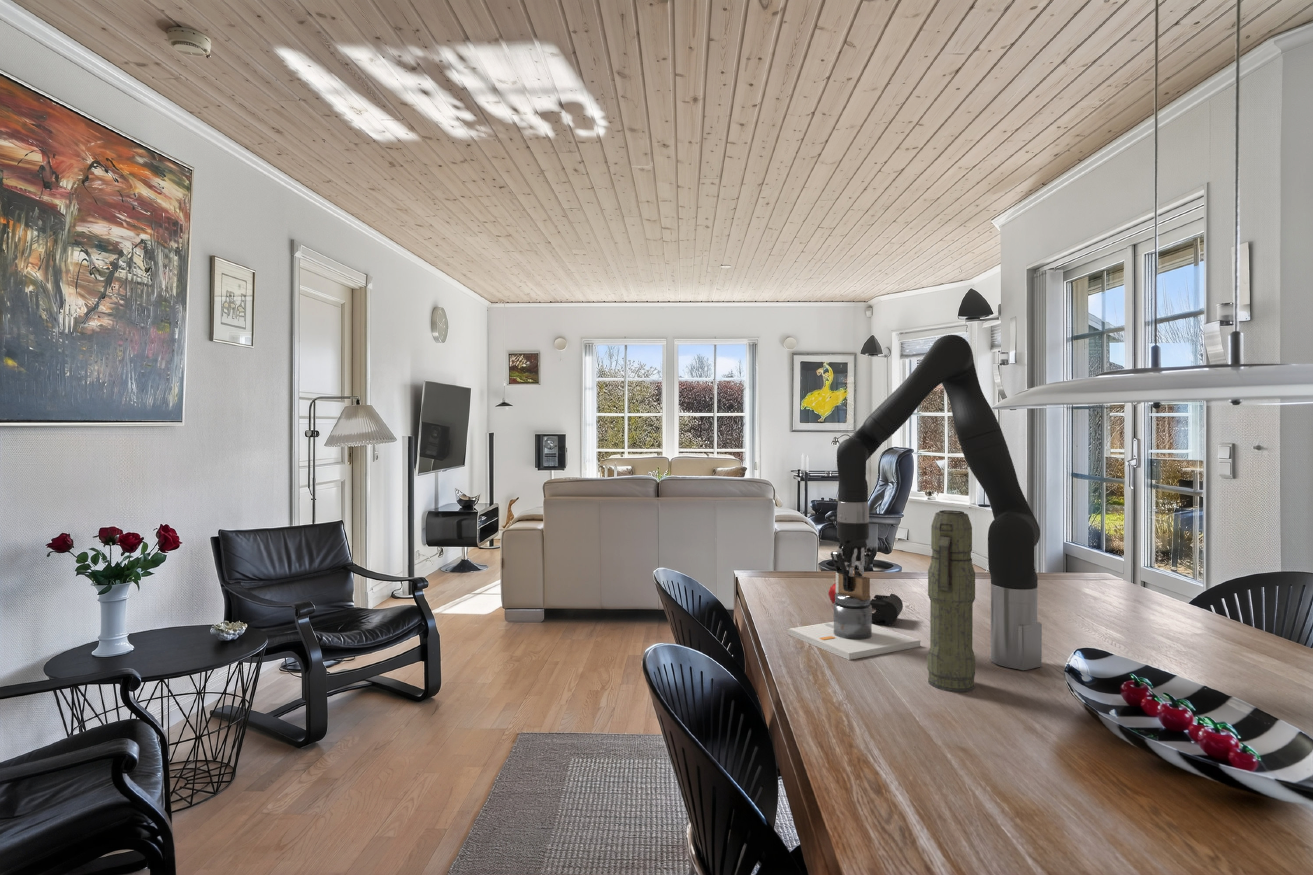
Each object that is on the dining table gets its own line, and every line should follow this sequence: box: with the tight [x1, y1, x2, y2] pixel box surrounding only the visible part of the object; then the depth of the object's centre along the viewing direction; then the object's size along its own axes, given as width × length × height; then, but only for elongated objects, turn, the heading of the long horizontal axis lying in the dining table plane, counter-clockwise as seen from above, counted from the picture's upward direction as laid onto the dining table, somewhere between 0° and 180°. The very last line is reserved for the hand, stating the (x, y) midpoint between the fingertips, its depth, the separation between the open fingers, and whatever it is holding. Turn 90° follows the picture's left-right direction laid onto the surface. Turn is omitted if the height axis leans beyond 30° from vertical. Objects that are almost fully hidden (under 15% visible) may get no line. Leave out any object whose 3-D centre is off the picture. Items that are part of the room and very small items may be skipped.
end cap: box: [871, 593, 904, 627], centre depth 190 cm, size 10×7×7 cm
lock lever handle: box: [835, 572, 872, 608], centre depth 173 cm, size 9×8×7 cm
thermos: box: [926, 509, 976, 693], centre depth 143 cm, size 9×12×35 cm
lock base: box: [788, 603, 921, 661], centre depth 173 cm, size 22×22×9 cm
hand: (852, 589), depth 173 cm, fingers closed on lock lever handle, 2 cm apart
